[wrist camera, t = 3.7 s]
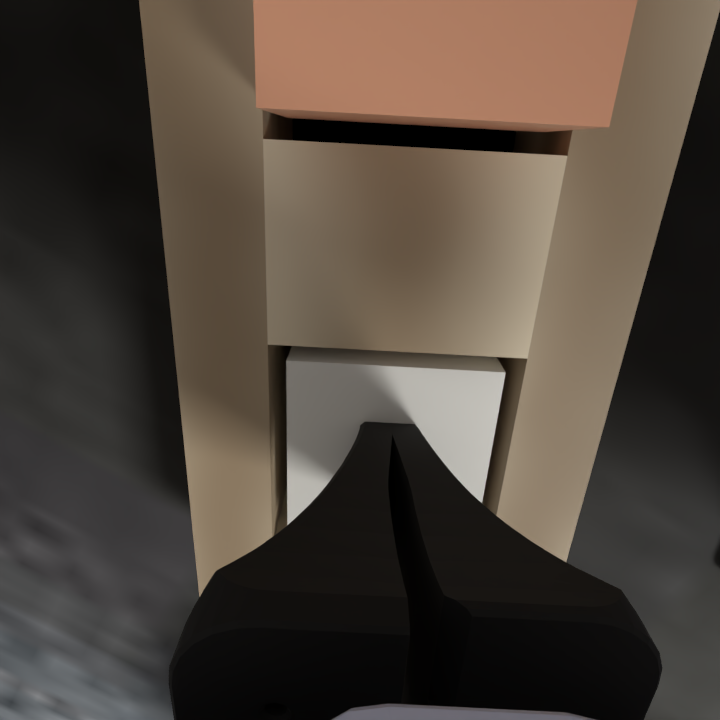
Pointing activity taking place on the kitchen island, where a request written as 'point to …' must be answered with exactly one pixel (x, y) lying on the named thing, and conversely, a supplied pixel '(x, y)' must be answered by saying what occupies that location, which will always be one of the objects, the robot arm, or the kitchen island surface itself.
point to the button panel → (402, 263)
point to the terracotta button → (443, 61)
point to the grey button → (387, 410)
